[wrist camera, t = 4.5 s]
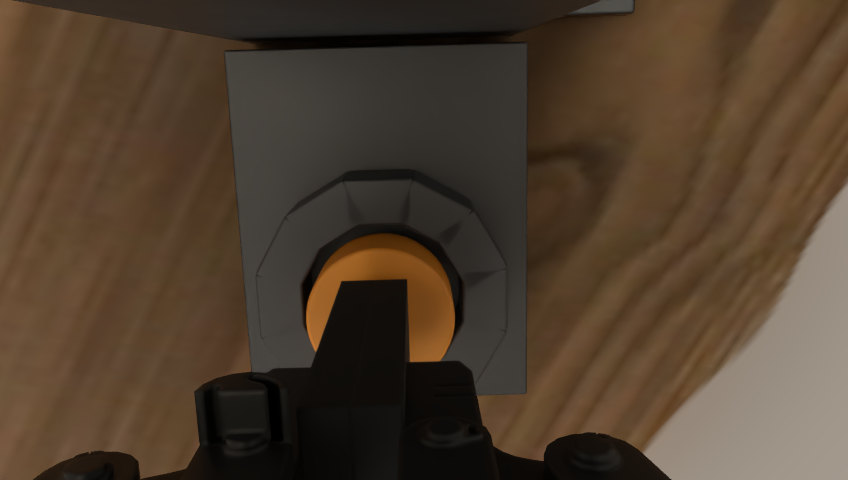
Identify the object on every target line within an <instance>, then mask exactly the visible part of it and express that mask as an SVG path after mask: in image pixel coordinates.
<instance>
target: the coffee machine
mask: <svg viewBox="0 0 848 480" xmlns="http://www.w3.org/2000/svg"><path fill="white" fill-rule="evenodd" d="M14 1H20V2H25V3H31V4H36V5H42V6H47V7H53V8H58V9H64V10H69V11H75V12H80V13H86V14H92V15H97V16H103V17H108V18H114V19H119V20H125V21H130V22H136V23H141V24H147V25H152V26H158V27H163V28H169V29H175V30H180V31H186V32H191V33H197V34H202V35H208V36H213V37H219V38H224V39H230V40H235V41H241V42H246V43H279V42H314V41H349V40H385V39H420V38H455V37H490V36H512V35H515V34H517V33H520V32H522V31H525V30H527V29H530V28H532V27H535V26H538V25H540V24H543V23H545V22H548V21H550V20H553V19H555V18H558V17H588V16H623V15H629V14H632V13H634V11H635V0H14Z"/></svg>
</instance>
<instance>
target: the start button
mask: <svg viewBox="0 0 848 480" xmlns="http://www.w3.org/2000/svg"><path fill="white" fill-rule="evenodd" d="M390 279H407V287H408V316H409V345H410V362H428V361H440V360H441V359H442V358H443V356H444V355H445V353H446V351H447V349H448V347H449V345H450V343H451V340H452V337H453V332H454V327H455V311H454V303H453V297H452V291H451V286H450V282H449V279H448V276H447V274H446V272H445V270H444V268H443V266H442V264H441V263H440V262H439V260H438V259H437V258H436V257H435V256H434V254H433V253H432V252H431V251H429V250H428V249H427V248H426V247H424V246H423V245H421V244H420V243H418V242H417V241H414V240H412V239H410V238H408V237H404V236H401V235H397V234H391V233H376V234H369V235H364V236H361V237H358V238H355V239H353V240H351V241H349V242H347V243H346V244H344V245H343V246H341V247H340V248H339V249H338V250H336V251H335V252H334V253H333V254H332V255H331V256H330V258H329V259H328V260H327V261H326V263H325V265H324V266H323V268H322V270H321V272H320V274H319V276H318V278H317V280H316V282H315V284H314V286H313V289H312V291H311V293H310V296H309V300H308V303H307V310H306V324H307V331H308V335H309V338H310V341H311V343H312V346H313V348H314V350H315V351H317V349H318V346H319V343H320V340H321V337H322V334H323V332H324V329H325V326H326V323H327V320H328V318H329V315H330V312H331V309H332V306H333V304H334V301H335V298H336V295H337V292H338V290H339V287H340V284H341V281H357V280H390Z"/></svg>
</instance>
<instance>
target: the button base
mask: <svg viewBox="0 0 848 480" xmlns="http://www.w3.org/2000/svg"><path fill="white" fill-rule="evenodd" d="M224 57H225V68H226V80H227V92H228V103H229V115H230V127H231V138H232V150H233V161H234V173H235V185H236V196H237V208H238V220H239V231H240V243H241V255H242V266H243V278H244V290H245V301H246V313H247V324H248V336H249V348H250V359H251V371H252V372H263V373H267V372H269V371H270V370H271V369H273V368H302V367H311V365H312V363H313V360H314V357H315V354H316V351H315V350H314V348H313V346H312V343H311V341H310V338H309V335H308V331H307V324H306V310H307V303H308V300H309V296H310V293H311V291H312V289H313V286H314V284H315V282H316V280H317V278H318V276H319V274H320V272H321V270H322V268H323V266H324V265H325V263H326V261H327V260H328V259H329V258H330V256H331V255H332V254H333V253H334V252H335V251H336V250H338V249H339V248H340V247H341V246H343V245H344V244H346V243H347V242H349V241H351V240H353V239H355V238H358V237H361V236H364V235H369V234H376V233H391V234H397V235H401V236H404V237H408V238H410V239H412V240H414V241H417V242H418V243H420V244H421V245H423V246H424V247H426V248H427V249H428V250H429V251H431V252H432V253H433V254H434V256H435V257H436V258H437V259H438V260H439V262H440V263H441V264H442V266H443V268H444V270H445V272H446V274H447V276H448V279H449V282H450V286H451V291H452V297H453V303H454V311H455V327H454V332H453V337H452V340H451V343H450V345H449V347H448V349H447V351H446V353H445V355H444V356H443V358H442V359H441V360H440V361H460V362H461V363H463V364H464V365H465V366H466V367H468V368H469V369H470V370H471V371H472V373H473V379H474V385H475V389H476V395H510V394H526V392H527V129H528V43H527V42H504V43H469V44H434V45H399V46H364V47H328V48H293V49H258V50H226V51H224Z"/></svg>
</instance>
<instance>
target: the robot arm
mask: <svg viewBox="0 0 848 480" xmlns="http://www.w3.org/2000/svg"><path fill="white" fill-rule="evenodd" d="M194 394H195V404H196V413H197V423H198V432H199V442H200V446H199V448H198V450H197V451H196V453H195V455H194V457H193V458H192V460H191V462H190V463H189V465H188V467H187V468H186V469H184V470H180V471H176V472H172V473H168V474H163V475H158V476H153V477H148V478H143V479H140V471H139V463H138V461H137V460H136V459H135V458H134V457H133V456H131V455H129V454H125V453H121V452H104V451H94V452H91V454H89V452H87V453H83V454H79V455H77V456H75V457H74V458H71V459H68V460H66V461H63V462H60V463H58V464H57V465H55V466H53V467H51V468H49V469H48V470H46V471H44V472H43V473H41V474H40V475H39V476H37V477H36V478H35V479H33V480H671V479H670V478H669V477H668V476H667V475H666V474H664V473H663V472H662V471H661V470H660V469H659V468H658V467H657V466H655V464H653V463H652V462H651V461H650V460H649V459H648V458H647V457H646V456H645V455H644V454H642V453H641V452H640V451H639V450H638V449H636V448H635V447H633V446H632V445H630V444H629V443H627V442H625V441H623V440H619V439H616V438H613V437H610V436H609V435H606V434H600V433H598V434H596V433H589V432H587V433H583V434H572V435H568V436H565V437H561V438H557V439H556V440H555V441H553V442H552V443H550V444H549V445H547V448H546V451H545V453H544V461H538V460H532V459H526V458H521V457H516V456H513V455H510V454H507V453H505V452H502V451H501V450H499V449H497V448H495V447H494V446H493V443H492V438H491V435H490V433H489V432H488V430H487V428H486V427H484V426H483V425H482V419H481V414H480V409H479V404H478V399H477V395H476V389H475V385H474V379H473V373H472V371H471V370H470V369H469V368H468V367H466V366H465V365H464V364H463V363H461V362H460V361H428V362H410V345H409V316H408V287H407V279H390V280H357V281H341V284H340V287H339V290H338V292H337V295H336V298H335V301H334V304H333V306H332V309H331V312H330V315H329V318H328V320H327V323H326V326H325V329H324V332H323V334H322V337H321V340H320V343H319V346H318V349H317V351H316V354H315V357H314V360H313V363H312V365H311V367H302V368H273V369H271V370H270V371H269V372H267V373H263V372H246V373H237V374H231V375H227V376H223V377H219V378H216V379H214V380H212V381H209V382H207V383H205V384H203V385H202V386H201V387H199V388H198V389H197V390H196V391H195V392H194Z"/></svg>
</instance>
